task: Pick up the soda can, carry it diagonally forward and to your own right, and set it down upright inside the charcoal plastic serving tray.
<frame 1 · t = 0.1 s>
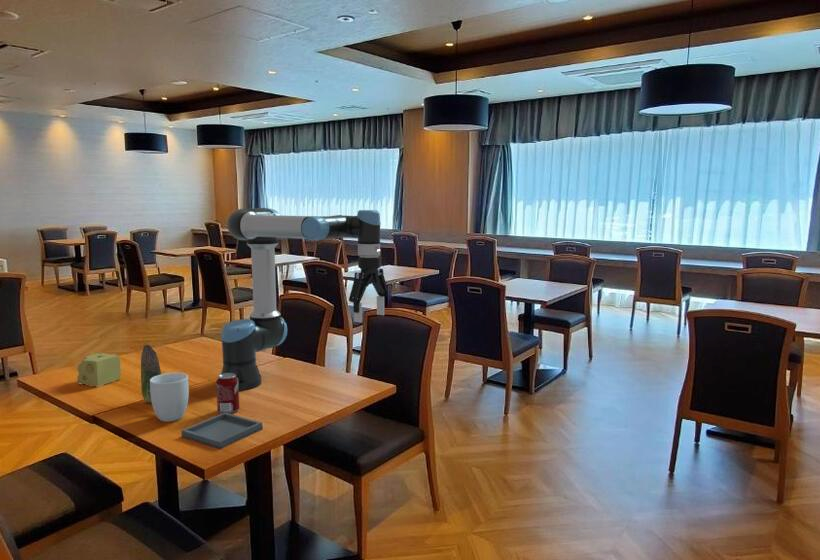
hand: (369, 318, 192), 28 cm above the table, fingers open, 13 cm apart
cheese: (100, 382, 211), on the table
soda can: (228, 411, 183), on the table
tray: (222, 432, 166), on the table
mug: (169, 417, 178), on the table
vegetable: (152, 401, 191), on the table
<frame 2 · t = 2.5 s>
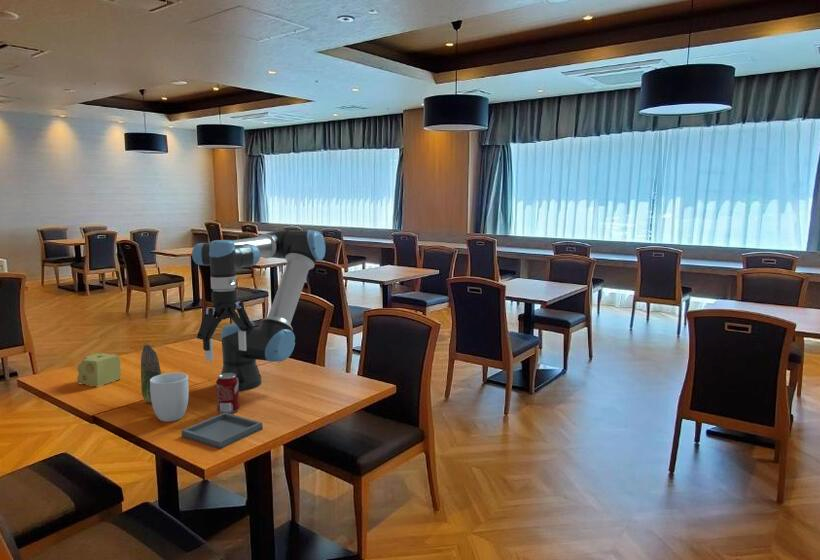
hand: (226, 355, 180), 19 cm above the table, fingers open, 13 cm apart
nothing on the table moved.
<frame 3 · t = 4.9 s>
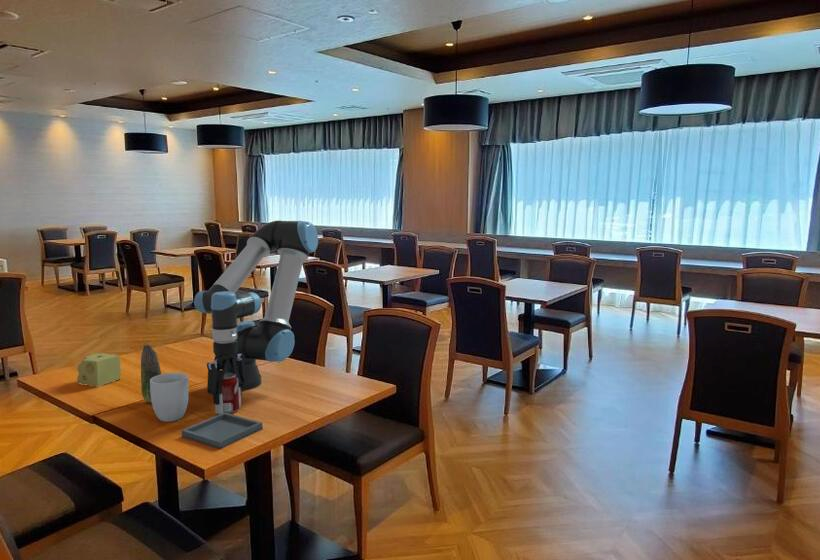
hand: (228, 409, 183), 1 cm above the table, fingers closed on soda can, 7 cm apart
soda can: (228, 411, 183), on the table, touching gripper
everything else where it was.
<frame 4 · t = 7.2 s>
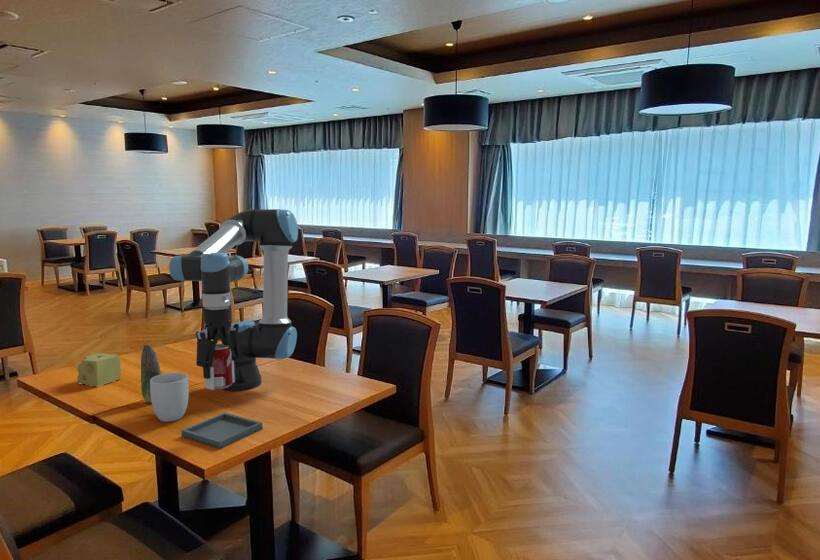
hand: (220, 384, 164), 15 cm above the table, fingers closed on soda can, 7 cm apart
soda can: (220, 387, 164), point 14 cm above the table, touching gripper
everything else where it was.
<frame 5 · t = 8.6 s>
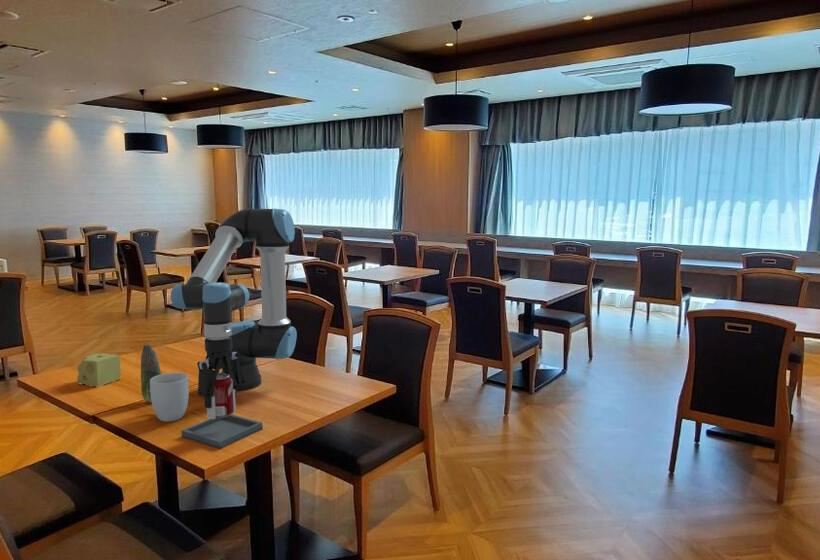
hand: (221, 413, 165), 6 cm above the table, fingers closed on soda can, 7 cm apart
soda can: (221, 415, 165), point 5 cm above the table, touching gripper
everything else where it was.
when the fingers open (3 cm above the table, at t = 9.7 s): soda can drops 1 cm, resting on tray.
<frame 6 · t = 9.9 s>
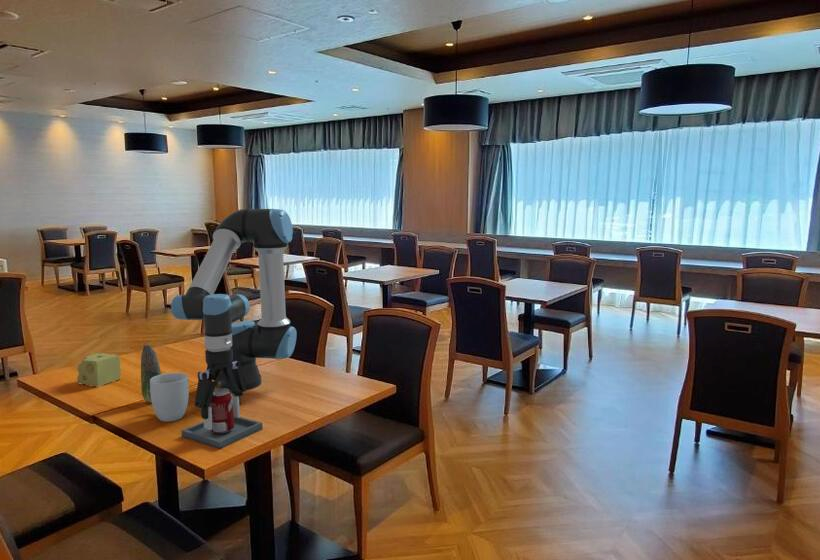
hand: (222, 422, 165), 3 cm above the table, fingers open, 9 cm apart
soda can: (222, 431, 166), point 1 cm above the table, touching tray
everything else where it was.
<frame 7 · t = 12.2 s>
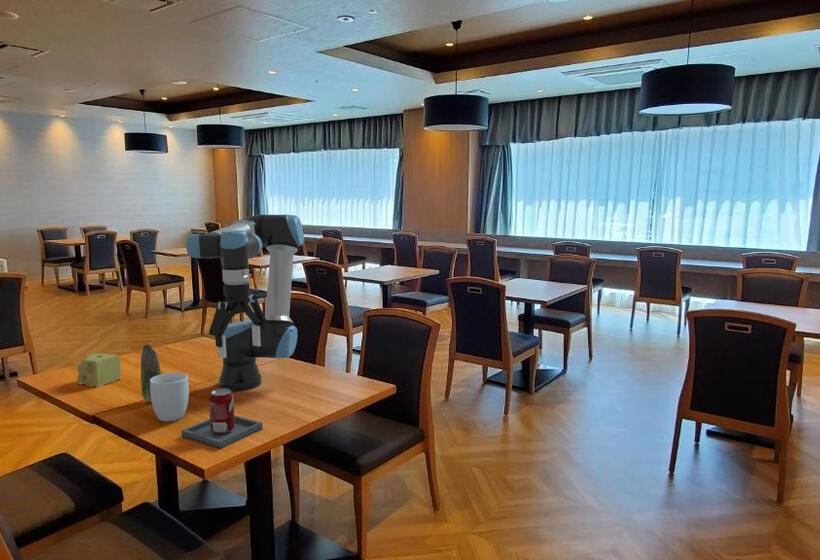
hand: (240, 351, 172), 22 cm above the table, fingers open, 13 cm apart
nothing on the table moved.
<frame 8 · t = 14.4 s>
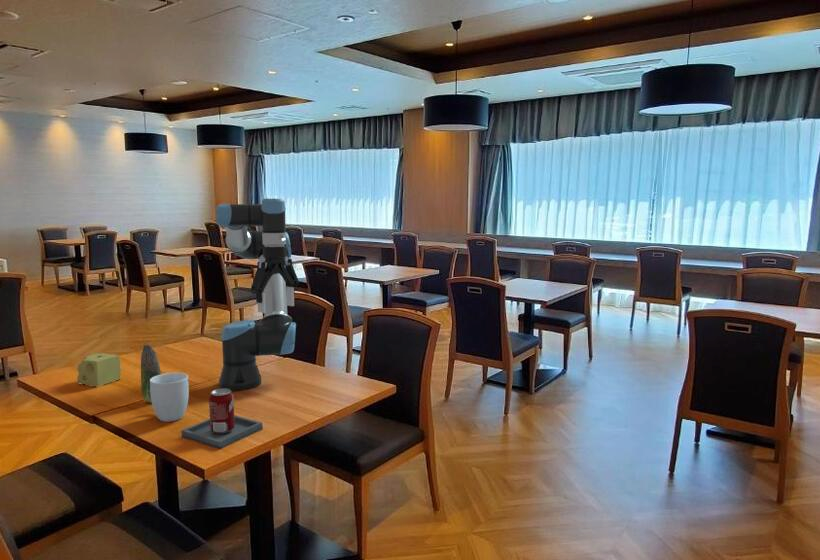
hand: (276, 309, 188), 32 cm above the table, fingers open, 13 cm apart
nothing on the table moved.
at the end: soda can inside the target area on the tray (0.1 cm from its centre), point 0.4 cm above the tray's base; soda can tilted 0°; the gripper is holding nothing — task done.
